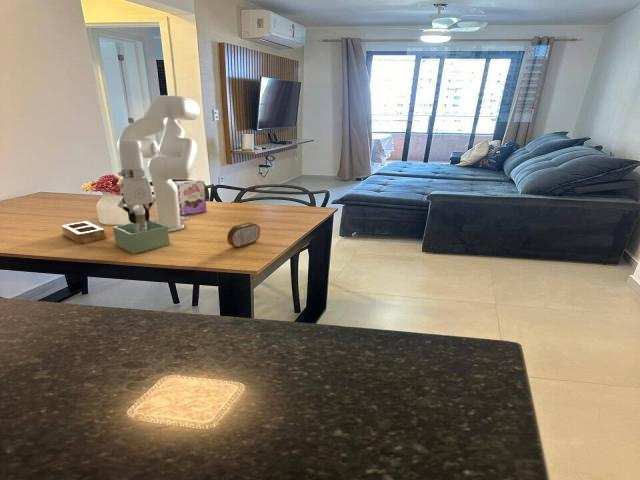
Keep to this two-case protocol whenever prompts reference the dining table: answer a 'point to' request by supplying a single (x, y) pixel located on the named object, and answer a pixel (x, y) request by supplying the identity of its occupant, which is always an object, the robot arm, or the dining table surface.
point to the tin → (243, 234)
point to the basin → (141, 237)
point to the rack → (83, 232)
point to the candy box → (191, 197)
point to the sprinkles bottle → (140, 220)
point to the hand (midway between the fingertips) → (139, 220)
